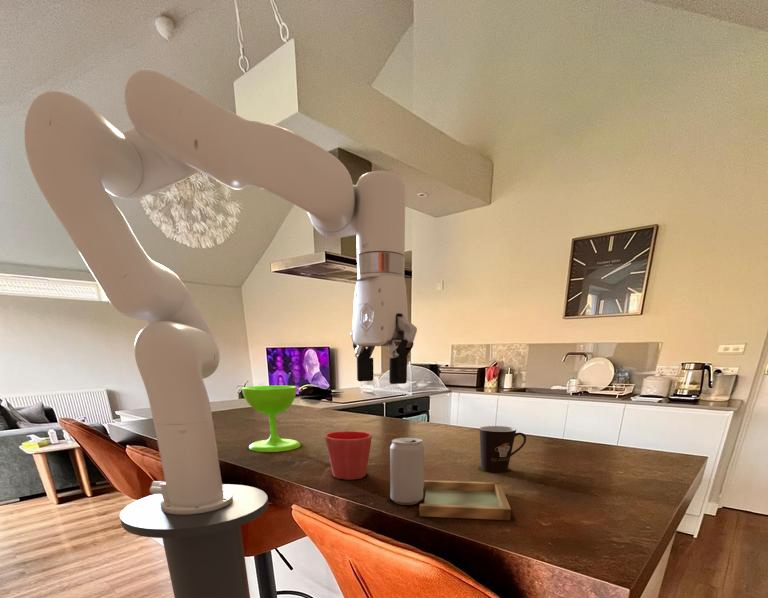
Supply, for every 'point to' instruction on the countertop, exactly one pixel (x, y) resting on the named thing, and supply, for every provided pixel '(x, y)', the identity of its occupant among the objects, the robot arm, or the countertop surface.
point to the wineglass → (271, 414)
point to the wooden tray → (465, 500)
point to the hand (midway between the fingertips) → (380, 382)
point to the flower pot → (348, 453)
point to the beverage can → (406, 470)
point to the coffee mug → (497, 447)
